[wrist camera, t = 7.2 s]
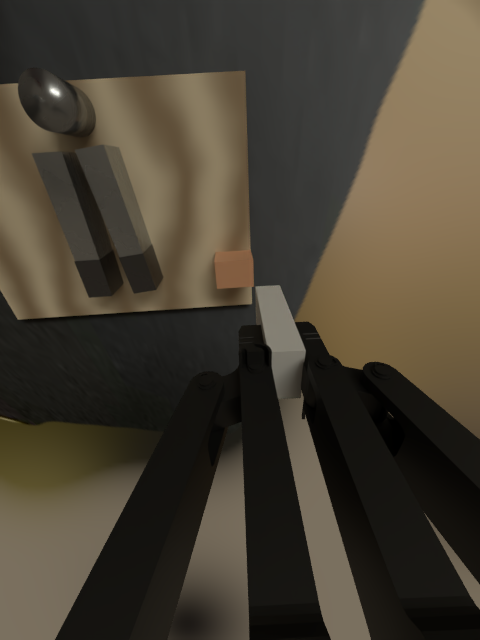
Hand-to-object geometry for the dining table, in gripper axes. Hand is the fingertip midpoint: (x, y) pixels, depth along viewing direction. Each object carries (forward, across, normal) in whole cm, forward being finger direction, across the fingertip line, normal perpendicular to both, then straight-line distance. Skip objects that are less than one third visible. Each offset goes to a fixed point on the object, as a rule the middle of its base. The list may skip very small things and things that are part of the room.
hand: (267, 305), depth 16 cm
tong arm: (+14, -13, +3) cm, 19 cm away
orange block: (+14, -2, -2) cm, 15 cm away
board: (+15, -15, +4) cm, 22 cm away
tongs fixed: (+14, -16, +5) cm, 22 cm away
